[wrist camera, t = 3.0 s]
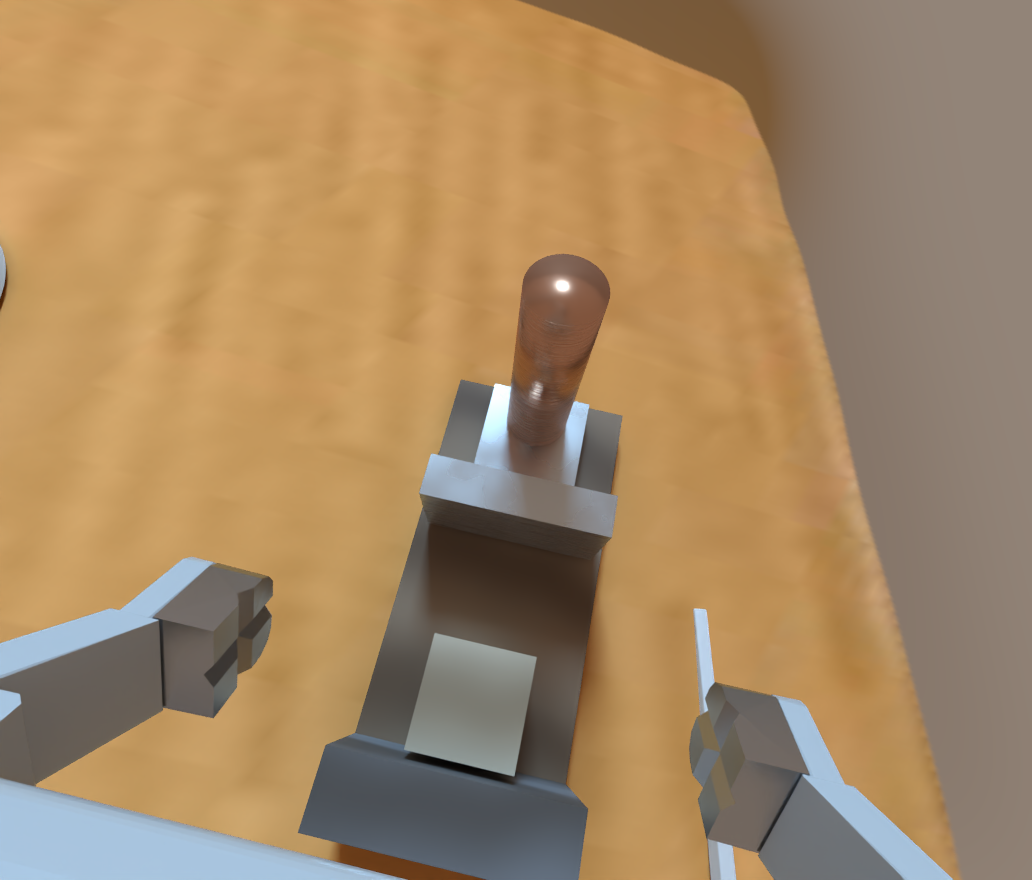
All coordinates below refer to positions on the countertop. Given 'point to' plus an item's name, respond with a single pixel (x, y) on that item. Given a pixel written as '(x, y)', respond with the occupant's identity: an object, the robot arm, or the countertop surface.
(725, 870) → the fork
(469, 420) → the base
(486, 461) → the press handle
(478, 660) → the block
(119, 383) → the countertop surface
